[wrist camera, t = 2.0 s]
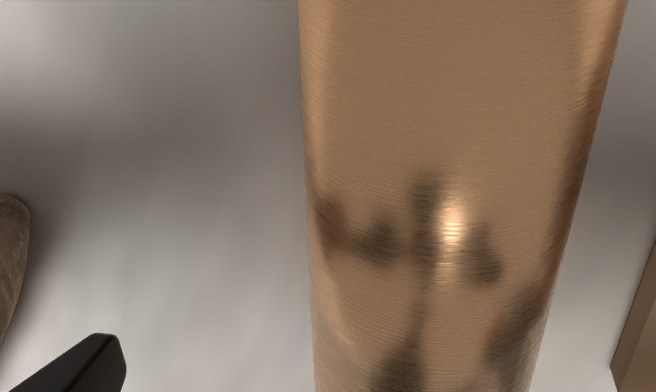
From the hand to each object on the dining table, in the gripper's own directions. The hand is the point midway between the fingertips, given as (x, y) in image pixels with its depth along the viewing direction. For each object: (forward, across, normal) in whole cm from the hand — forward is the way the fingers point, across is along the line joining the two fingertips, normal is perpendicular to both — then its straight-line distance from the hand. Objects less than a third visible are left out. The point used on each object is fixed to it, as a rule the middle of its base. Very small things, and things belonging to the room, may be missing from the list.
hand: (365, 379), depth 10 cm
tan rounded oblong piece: (+7, 0, 0) cm, 7 cm away
